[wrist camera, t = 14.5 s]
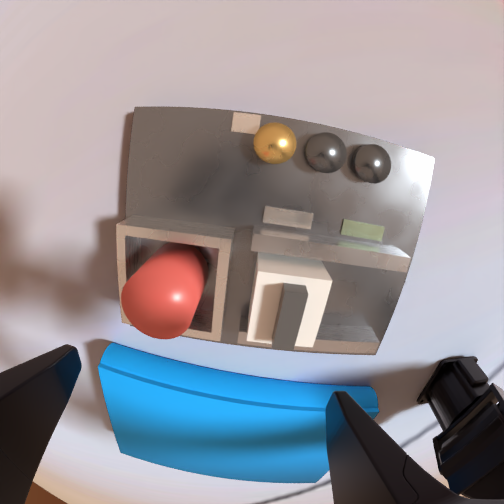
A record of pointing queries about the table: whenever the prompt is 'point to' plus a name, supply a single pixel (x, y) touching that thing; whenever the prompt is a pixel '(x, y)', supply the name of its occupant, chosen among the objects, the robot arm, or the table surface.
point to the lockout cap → (166, 291)
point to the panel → (275, 214)
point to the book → (219, 418)
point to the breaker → (287, 300)
